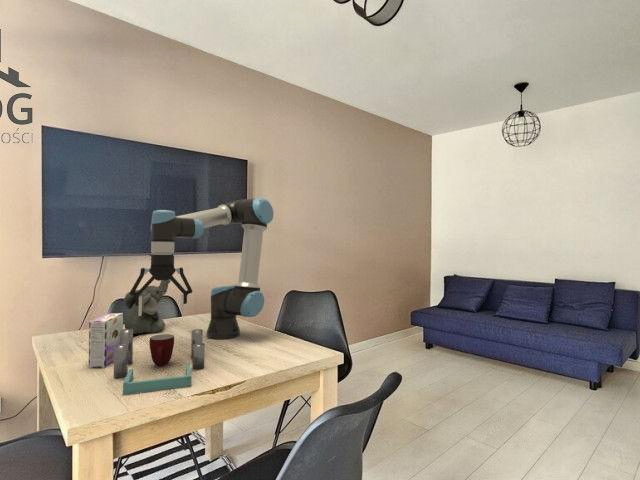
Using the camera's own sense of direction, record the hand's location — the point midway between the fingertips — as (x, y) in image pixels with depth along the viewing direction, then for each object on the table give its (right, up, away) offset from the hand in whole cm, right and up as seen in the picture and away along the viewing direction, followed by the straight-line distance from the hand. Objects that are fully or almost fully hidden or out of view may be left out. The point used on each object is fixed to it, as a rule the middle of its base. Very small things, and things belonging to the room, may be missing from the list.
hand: (161, 314), depth 128 cm
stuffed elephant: (-29, -19, +49) cm, 60 cm away
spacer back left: (+9, -18, +11) cm, 23 cm away
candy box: (-22, -18, +5) cm, 29 cm away
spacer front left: (+13, -18, -1) cm, 23 cm away
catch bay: (+6, -18, -14) cm, 24 cm away
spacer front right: (-9, -18, -10) cm, 23 cm away
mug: (0, -19, 0) cm, 19 cm away
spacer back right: (-14, -18, +2) cm, 23 cm away
